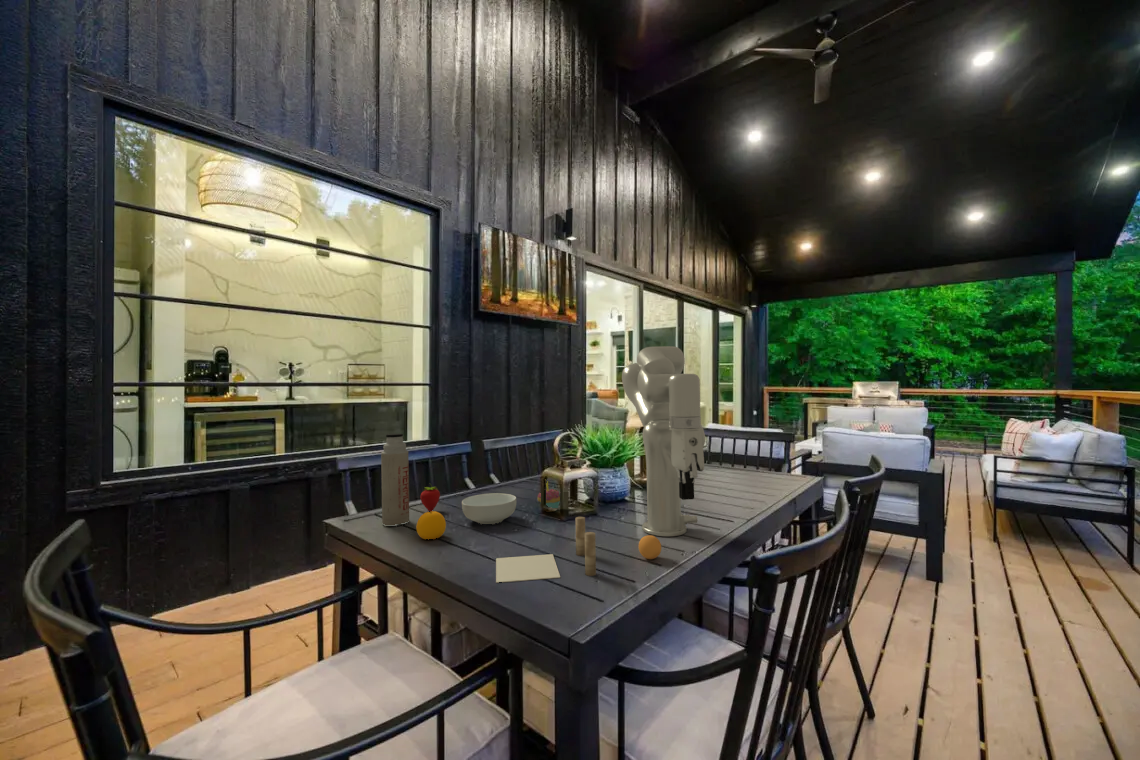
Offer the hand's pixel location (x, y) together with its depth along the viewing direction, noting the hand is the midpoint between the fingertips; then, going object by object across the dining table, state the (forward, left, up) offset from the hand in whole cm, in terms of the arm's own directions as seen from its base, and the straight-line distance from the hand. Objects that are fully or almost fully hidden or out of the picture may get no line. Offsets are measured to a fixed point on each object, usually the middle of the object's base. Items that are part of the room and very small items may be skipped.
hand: (686, 498), depth 115 cm
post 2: (+25, +6, -14) cm, 30 cm away
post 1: (+25, -7, -14) cm, 30 cm away
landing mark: (+39, 0, -14) cm, 42 cm away
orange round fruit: (+64, -27, -14) cm, 71 cm away
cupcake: (+28, -48, -14) cm, 58 cm away
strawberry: (+68, -55, -14) cm, 89 cm away
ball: (+9, 0, -11) cm, 15 cm away
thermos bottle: (+77, -44, -14) cm, 90 cm away
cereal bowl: (+48, -40, -14) cm, 65 cm away
